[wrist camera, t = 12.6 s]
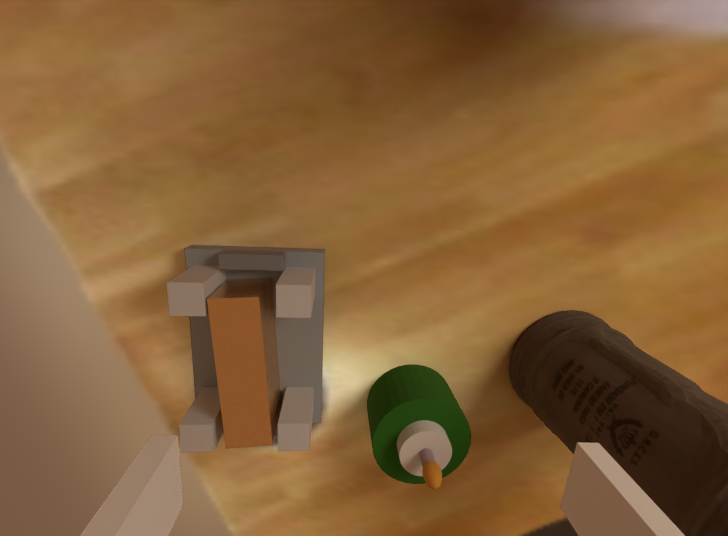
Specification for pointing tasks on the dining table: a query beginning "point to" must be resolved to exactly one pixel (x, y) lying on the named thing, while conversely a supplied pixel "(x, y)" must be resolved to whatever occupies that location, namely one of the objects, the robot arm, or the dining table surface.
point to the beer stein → (629, 414)
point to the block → (246, 360)
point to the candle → (416, 426)
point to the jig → (293, 333)
